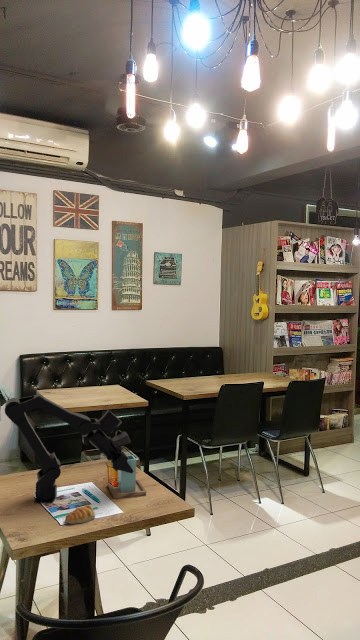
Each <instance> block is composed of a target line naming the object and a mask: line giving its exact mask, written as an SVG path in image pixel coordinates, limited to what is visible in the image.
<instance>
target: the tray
mask: <svg viewBox="0 0 360 640" xmlns="http://www.w3.org/2000/svg"><path fill="white" fill-rule="evenodd" d="M107 488H108V490H109V492H110V494H111V496H112V498H113V500H117V499H126V498H133V497H143V496H147V491H146V489H145V487H144V486H143V485H142V483H141V482H140V480H139V479H136V488H135V491H133V492H124V493H121V492H120V490H119V489H118V487H114V486H111V484H110V483H109V482H107Z"/></svg>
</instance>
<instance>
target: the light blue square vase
mask: <svg viewBox="0 0 360 640" xmlns="http://www.w3.org/2000/svg"><path fill="white" fill-rule="evenodd" d="M126 455H127V454H126ZM127 457H128V460H127V462H128V464H129V465H130V467H131V468H132V470H133V471H134V472H133V473H132V474H131V473H128V472H125V471H121V470H118V471H117V482H118V489H119V490H120V492H121V493H124V492H133V491H135V488H136V480H137V458H136V457H135V456H134V454H128V455H127Z"/></svg>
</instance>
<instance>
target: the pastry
mask: <svg viewBox="0 0 360 640" xmlns="http://www.w3.org/2000/svg"><path fill="white" fill-rule="evenodd" d="M95 518H96V513H95V510H94V508H93V507H92V506H91V505H90V504H89V505H88V504H86V505H85V506H80V507H76V508H75V509H74V510H73V511H71V512H69V513H68V514H66V516H65V520H64V522H66V523H67V524H70V525H76V524H78V525H79V524H83V523H87V522H90V521H93V520H95Z"/></svg>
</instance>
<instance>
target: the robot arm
mask: <svg viewBox="0 0 360 640" xmlns="http://www.w3.org/2000/svg"><path fill="white" fill-rule="evenodd" d="M35 409H40V410H42V411H44V412H46V413H48V414H50V415H51V416H54V418H55V417H56V418H57V419H59V420H61V421H63V422H65V423H66V424H68V425H69V426H70V427H71V428H72V429H73V430H74V431H75V432H77V433H78V434H79V435H82V440H81V441H82V443H83V445H87V443H88V442H89V443H90V444H91V445H92V446H94V447H95V448H96V450H97V451H99V453H100V454H101V455H103V456H104V457H105V458H106V460H107V461H110V466H111V468H112V469H113V470H114V471H115V472H118V470H121V471H125V472H128V473H131V474H132V473H133V472H134V471H133V470H132V468H131V467H130V465H129V464H128V462H127V460H128V457H127V454H126V453H125V452H124V451H122V447H124V446H125V445H127V444H131V442H132V441H131V439H130V437H129V433H127V431H121V430H120V429H118V430H116V429H117V428H118V427H119V426H120V425H121V424H122V420H121V419H119V418H118V416H117V415H116V414H114V413H112V411H111V410H110V409H107V411H105V412H104V414H103V415H102V416H101V417H100V418H99V419H98V418H91V417H88V416H87V415H85V414H81V413H79V412H74V411H71V410H69V409H67V408H65V407H63V406H61V405H60V404H57V403H56V402H53V401H52V400H50V399H48V398H46V397H44V396H43V394H34V395H29V396H26V397H25V396H24V397H20V398H16V397H11V398H9V399H8V400H6V402H5V405H4V414H5V416H6V417H8V419H9V420H10V421H11V422H12V424H14V425H16V426H17V427H18V429H19V430H20V432H21V433H22V435H23V437H24V439H25V440H26V442H27V443H28V445H29V447H30V448H31V450H32V451H33V453H34V455H35V456H36V458H37V460H38V462H39V465H40V470H38V471H37V472H36V476H37V477H36V479H37V481H36V483H35V498H34V501H33V502H34V503H45V504H46V503H48V504H51V503H52V504H53V503H54V501H55V499H57V496H58V485H57V484H56V480H57V479H58V478H59V477H60V476H61V474H62V471H61V467H62V466H61V461H60V459H59V458H57V456H56V453H55V451H53V452H52V453H50V452H49V451H48V450H47V448H46V446H44V444H43V442H42V441H41V439H40V437H39V436H38V434H37V433H36V431H35V429H34V428H33V426H32V424H31V422H30V420H29V419H28V417H27V414H26V413H28V412H30V411H32V410H35ZM115 430H116V431H115ZM114 431H115V435H114V437H112V438H111V436H107V434H112V433H113V432H114Z"/></svg>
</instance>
